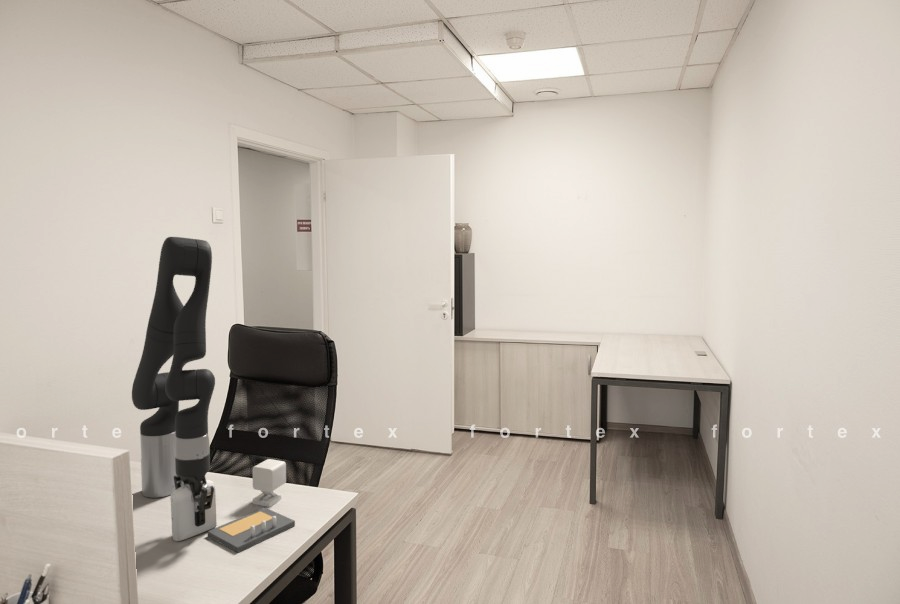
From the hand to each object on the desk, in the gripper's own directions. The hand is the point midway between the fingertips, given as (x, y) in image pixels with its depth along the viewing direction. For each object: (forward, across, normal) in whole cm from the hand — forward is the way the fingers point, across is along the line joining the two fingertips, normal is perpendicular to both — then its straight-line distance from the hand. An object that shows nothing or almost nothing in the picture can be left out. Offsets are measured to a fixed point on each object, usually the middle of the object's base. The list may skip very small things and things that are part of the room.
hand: (194, 521), depth 138 cm
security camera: (+3, -1, +22) cm, 22 cm away
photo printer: (+3, 0, 0) cm, 3 cm away
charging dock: (+3, +10, +9) cm, 14 cm away
